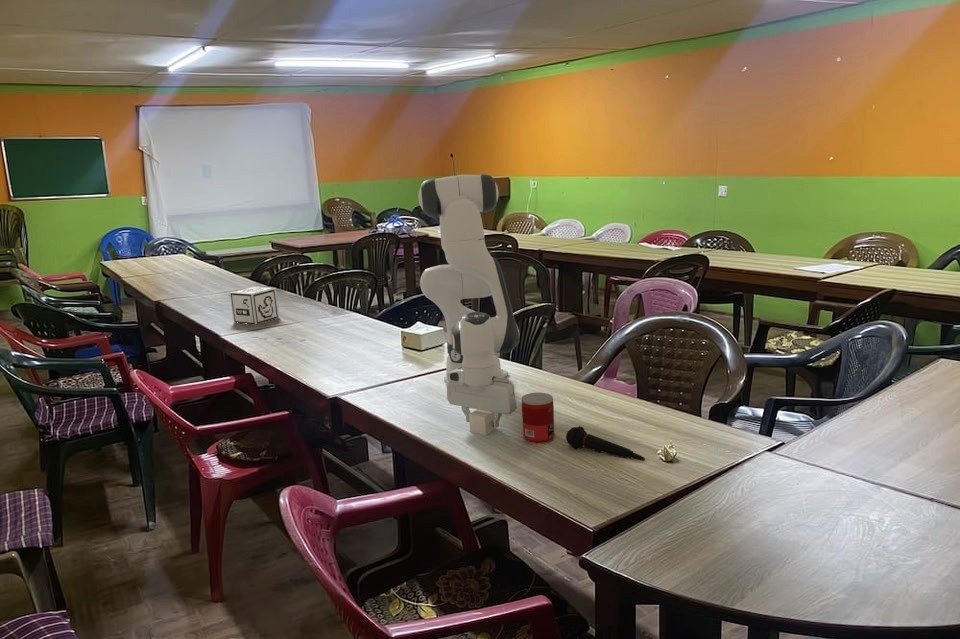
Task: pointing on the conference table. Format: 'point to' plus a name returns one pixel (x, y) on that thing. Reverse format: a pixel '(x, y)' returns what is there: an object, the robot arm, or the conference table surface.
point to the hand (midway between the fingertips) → (482, 424)
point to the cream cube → (481, 421)
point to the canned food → (538, 417)
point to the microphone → (597, 444)
